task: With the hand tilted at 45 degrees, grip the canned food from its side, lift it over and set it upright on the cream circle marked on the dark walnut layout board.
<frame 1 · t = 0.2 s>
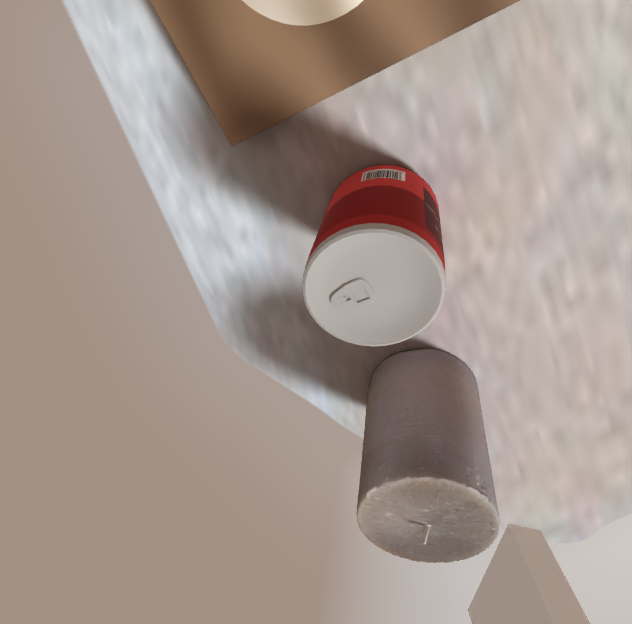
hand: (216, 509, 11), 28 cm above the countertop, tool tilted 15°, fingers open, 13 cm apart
pillar candle: (422, 385, 44), on the countertop
canned food: (382, 212, 36), on the countertop
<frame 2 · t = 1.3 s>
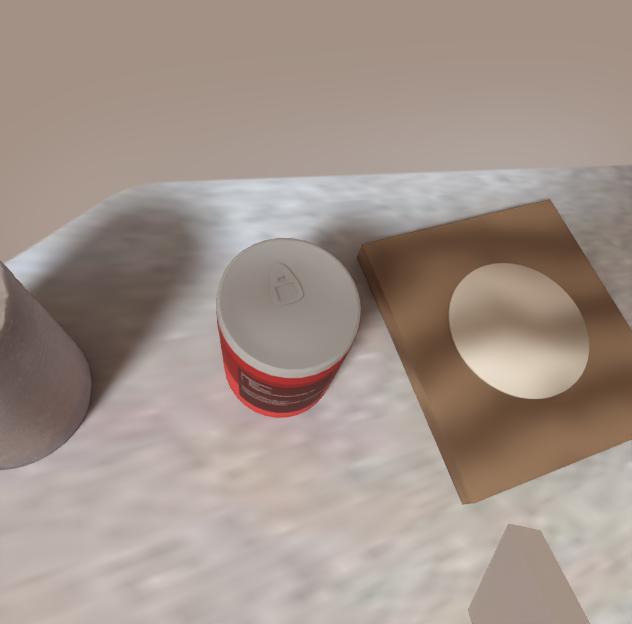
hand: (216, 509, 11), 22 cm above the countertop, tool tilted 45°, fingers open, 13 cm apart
layout board: (505, 337, 39), on the countertop
pillar candle: (20, 396, 32), on the countertop
canned food: (277, 366, 35), on the countertop
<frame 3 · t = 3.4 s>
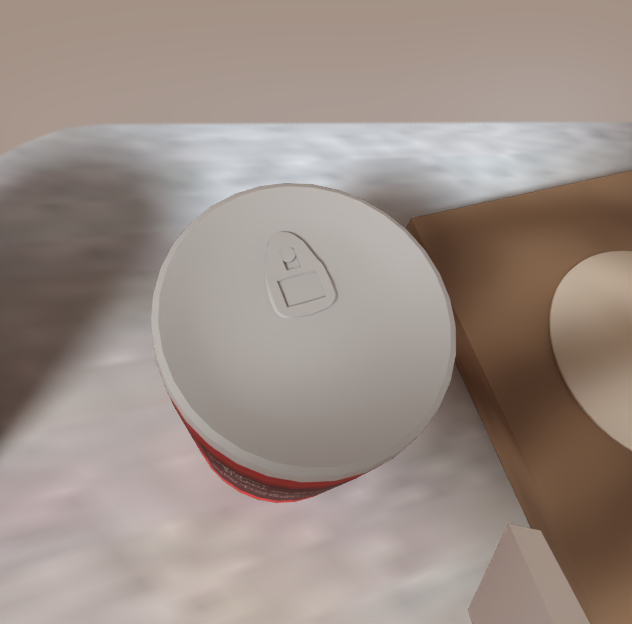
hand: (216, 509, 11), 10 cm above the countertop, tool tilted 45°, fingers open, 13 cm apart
layout board: (627, 363, 25), on the countertop
canned food: (279, 410, 22), on the countertop
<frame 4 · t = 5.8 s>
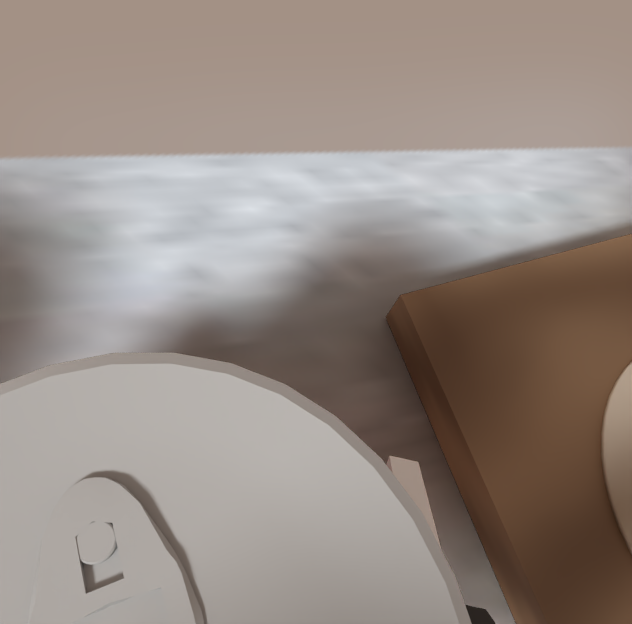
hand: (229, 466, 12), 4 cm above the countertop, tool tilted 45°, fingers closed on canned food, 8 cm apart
canned food: (202, 598, 15), on the countertop, touching gripper
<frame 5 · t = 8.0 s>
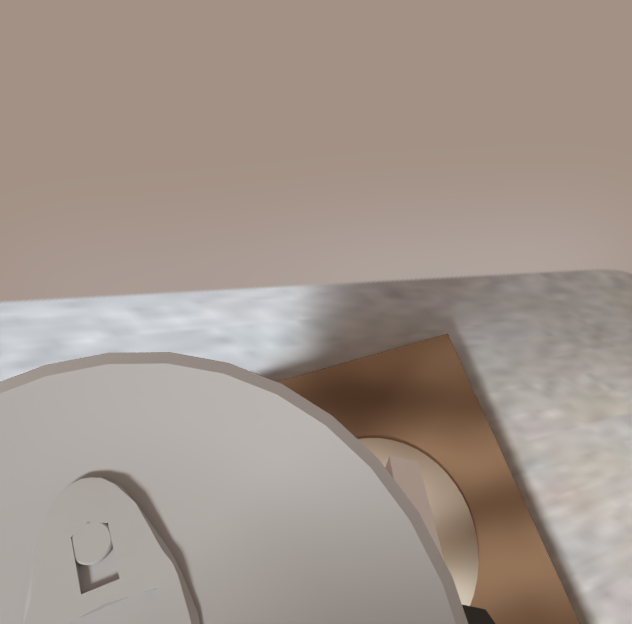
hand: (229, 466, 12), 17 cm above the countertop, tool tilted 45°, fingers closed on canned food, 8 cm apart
layout board: (369, 542, 28), on the countertop
canned food: (201, 598, 15), point 13 cm above the countertop, touching gripper
when the fingers open (8 cm above the countertop, at t = 10.7 s): canned food drops 1 cm, resting on layout board.
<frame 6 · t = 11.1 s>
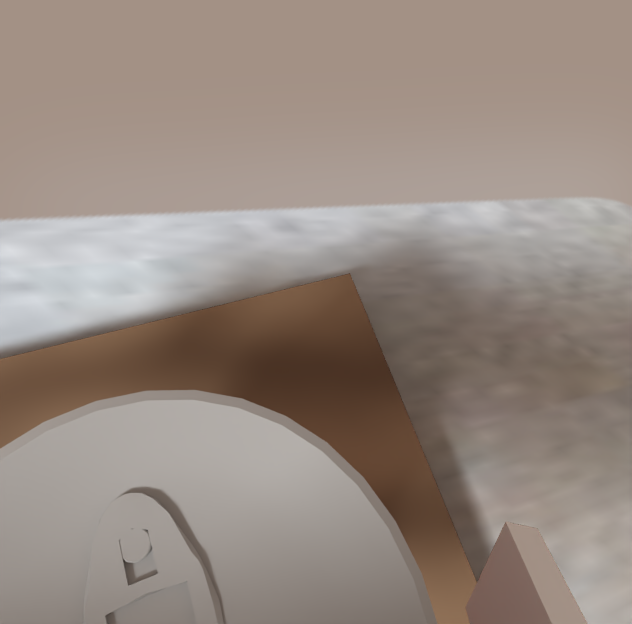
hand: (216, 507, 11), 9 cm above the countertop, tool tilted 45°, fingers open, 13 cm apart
layout board: (209, 586, 18), on the countertop
canned food: (208, 595, 16), point 2 cm above the countertop, touching layout board
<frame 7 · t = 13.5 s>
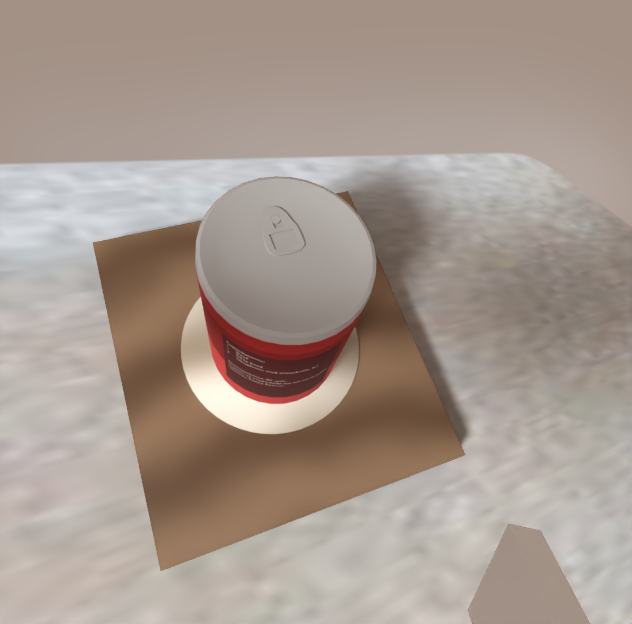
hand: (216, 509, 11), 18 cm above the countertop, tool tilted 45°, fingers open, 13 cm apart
layout board: (270, 355, 32), on the countertop
canned food: (273, 345, 30), point 2 cm above the countertop, touching layout board
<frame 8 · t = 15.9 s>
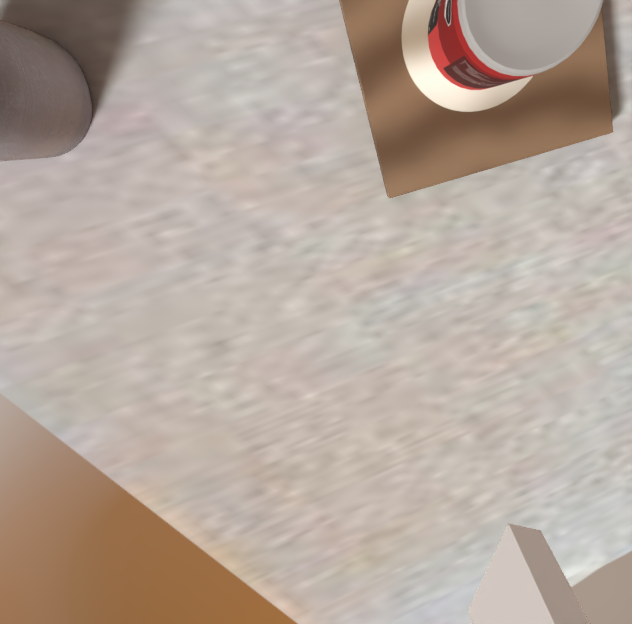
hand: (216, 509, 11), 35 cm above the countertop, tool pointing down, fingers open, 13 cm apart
layout board: (468, 37, 38), on the countertop
pillar candle: (39, 98, 41), on the countertop
canned food: (476, 33, 36), point 2 cm above the countertop, touching layout board
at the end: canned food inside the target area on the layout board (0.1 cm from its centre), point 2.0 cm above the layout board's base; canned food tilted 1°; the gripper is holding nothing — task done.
